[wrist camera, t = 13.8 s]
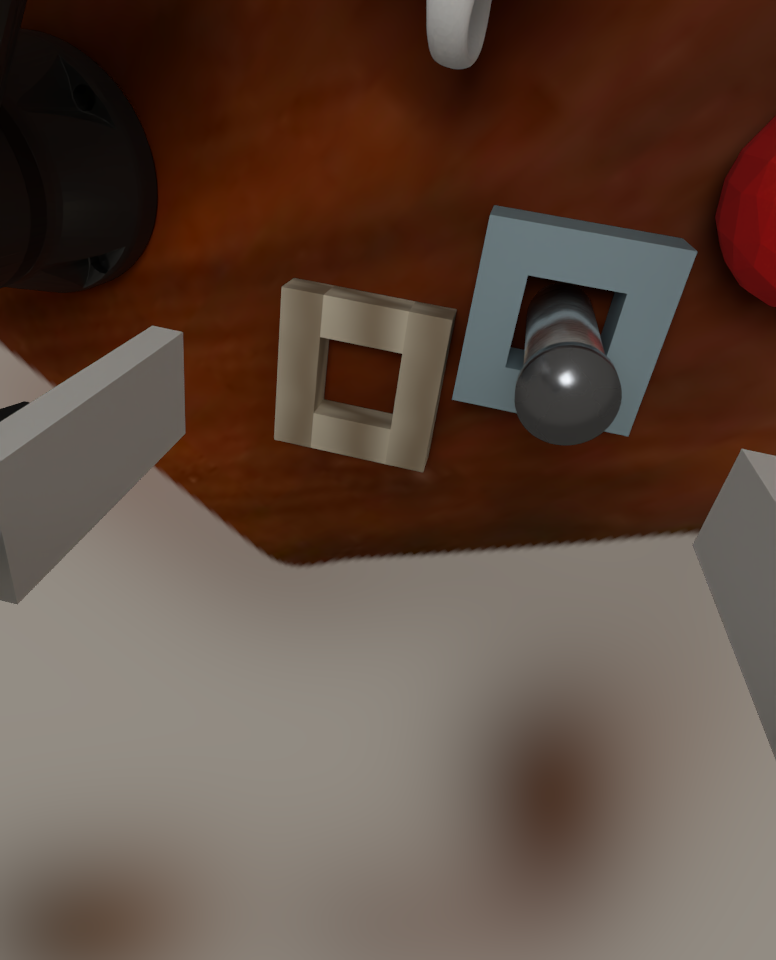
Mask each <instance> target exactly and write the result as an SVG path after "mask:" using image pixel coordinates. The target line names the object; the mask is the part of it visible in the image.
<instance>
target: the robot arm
mask: <svg viewBox="0 0 776 960" xmlns="http://www.w3.org/2000/svg"><path fill="white" fill-rule="evenodd" d="M26 2H27V0H0V288H2V287H11V288H20V289H29V290H38V291H48V292H58V293H66V292H76V291H82V290H86V289H89V288H92V287H95V286H97V285H100V284H102V283H105V282H107V281H110V280H112V279H114V278H116V277H118V276H120V275H121V274H123V273H124V272H125V271H127V270H128V269H129V268H130V267H131V266H132V265H133V264H134V263H135V262H136V261H137V259H138V258H139V257H140V255H141V254H142V252H143V250H144V249H145V247H146V245H147V243H148V241H149V238H150V235H151V233H152V229H153V226H154V221H155V216H156V208H157V183H156V174H155V168H154V163H153V158H152V155H151V151H150V148H149V145H148V141H147V139H146V136H145V134H144V131H143V129H142V126H141V124H140V122H139V120H138V118H137V116H136V114H135V112H134V110H133V109H132V107H131V105H130V104H129V102H128V100H127V99H126V97H125V96H124V94H123V93H122V92H121V90H120V89H119V88H118V86H117V85H116V84H115V82H114V81H113V80H112V79H111V78H110V77H109V76H108V74H107V73H106V72H105V71H104V70H103V69H102V68H101V67H100V66H99V65H97V64H96V63H95V62H94V61H93V60H92V59H91V58H89V57H88V56H87V55H86V54H84V53H83V52H81V51H80V50H79V49H77V48H76V47H74V46H72V45H71V44H69V43H67V42H65V41H63V40H61V39H59V38H57V37H54V36H52V35H49V34H46V33H43V32H39V31H34V30H28V29H21V28H20V26H21V22H22V18H23V14H24V10H25V6H26ZM184 434H185V399H184V358H183V332H180V331H175V330H170V329H165V328H161V327H156V326H151V327H150V328H148V329H146V330H145V331H143V332H142V333H140V334H138V335H137V336H135V337H134V338H132V339H131V340H129V341H127V342H126V343H124V344H123V345H121V346H120V347H118V348H116V349H115V350H113V351H112V352H110V353H108V354H107V355H105V356H104V357H102V358H101V359H99V360H97V361H96V362H94V363H93V364H91V365H89V366H88V367H86V368H85V369H83V370H82V371H80V372H78V373H77V374H75V375H74V376H72V377H70V378H69V379H67V380H66V381H64V382H63V383H61V384H59V385H58V386H56V387H55V388H53V389H51V390H50V391H48V392H47V393H45V394H44V395H42V396H40V397H39V398H37V399H36V400H34V401H33V402H31V403H29V402H21V403H18V404H15V405H12V406H9V407H6V408H2V409H0V600H2V601H6V602H10V603H14V604H18V603H19V602H20V601H21V600H22V599H23V598H24V597H25V596H26V595H27V594H28V593H29V592H30V591H31V590H32V589H33V588H34V587H35V586H36V585H37V584H38V583H39V582H40V581H41V580H42V579H43V578H44V577H45V576H46V575H47V574H48V573H49V572H50V571H51V570H52V569H53V568H54V566H55V565H57V564H58V563H59V561H61V559H62V558H63V557H64V556H65V555H66V554H67V553H68V552H69V551H70V550H71V549H72V548H73V547H74V546H75V545H76V544H77V543H78V542H79V541H80V540H81V539H82V538H83V537H84V536H85V535H86V534H87V533H88V532H89V531H90V530H91V529H92V528H93V527H94V526H95V525H96V524H97V523H98V522H99V521H100V520H101V519H102V518H103V517H104V516H105V515H106V514H107V512H108V511H110V510H111V508H113V507H114V505H116V504H117V502H118V501H119V500H120V499H121V498H122V497H123V496H124V495H125V494H126V493H127V492H128V491H129V490H130V489H131V488H132V487H133V486H134V485H135V484H136V483H137V482H138V481H139V480H140V479H141V478H142V477H143V476H144V475H145V474H146V473H147V472H148V471H149V470H150V469H151V468H152V467H153V466H154V465H155V464H156V463H157V462H158V461H159V460H160V459H161V458H162V457H163V456H164V455H165V454H166V453H167V452H168V451H169V450H170V449H171V448H172V447H173V445H174V444H175V443H176V442H177V441H178V440H179V439H180V438H181V437H182V436H183V435H184ZM693 547H694V550H695V553H696V555H697V558H698V560H699V563H700V565H701V568H702V570H703V573H704V576H705V578H706V581H707V584H708V586H709V589H710V591H711V594H712V596H713V599H714V602H715V604H716V607H717V609H718V612H719V614H720V617H721V619H722V622H723V624H724V627H725V630H726V632H727V635H728V638H729V640H730V643H731V645H732V648H733V650H734V653H735V656H736V658H737V661H738V663H739V666H740V669H741V671H742V673H743V676H744V679H745V681H746V684H747V687H748V689H749V692H750V694H751V697H752V700H753V702H754V705H755V707H756V710H757V713H758V715H759V718H760V720H761V723H762V725H763V728H764V731H765V733H766V736H767V738H768V741H769V744H770V746H771V749H772V751H773V754H774V756H775V759H776V456H773V455H769V454H764V453H759V452H754V451H749V450H745V449H741V451H740V453H739V455H738V457H737V459H736V461H735V463H734V465H733V467H732V469H731V471H730V473H729V475H728V477H727V479H726V481H725V483H724V485H723V487H722V489H721V491H720V493H719V495H718V496H717V498H716V500H715V502H714V504H713V506H712V508H711V510H710V512H709V514H708V516H707V518H706V520H705V522H704V524H703V526H702V528H701V530H700V532H699V534H698V536H697V538H696V540H695V542H694V544H693Z"/></svg>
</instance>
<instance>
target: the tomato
mask: <svg viewBox="0 0 776 960" xmlns="http://www.w3.org/2000/svg"><path fill="white" fill-rule="evenodd" d="M715 220H716V226H717V232H718V238H719V244H720V248H721V251H722V254H723V257H724V261H725V263H726V264H727V266H728V268H729V269H730V271H731V272H732V274H733V276H734V277H735V279H736V280H737V282H738V284H739V285H740V286H741V287H742V288H744V289H745V290H747V291H748V292H749V293H751V294H752V295H754V296H755V297H757V298H758V299H760V300H761V301H763V302H764V303H766V304H767V305H769V306H772V307H776V116H775V117H774V118H773V119H772V120H771V121H770V122H769V123H768V124H767V125H766V126H765V127H764V128H763V129H762V130H761V131H760V132H759V133H758V134H757V135H756V136H755V137H754V138H753V139H752V140H751V141H750V142H749V143H748V144H747V145H746V146H745V147H744V148H743V149H742V150H741V152H740V154H739V155H738V157H737V159H736V160H735V162H734V164H733V166H732V167H731V169H730V171H729V173H728V174H727V176H726V178H725V180H724V184H723V188H722V192H721V196H720V200H719V203H718V207H717V211H716V215H715Z"/></svg>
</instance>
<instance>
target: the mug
mask: <svg viewBox="0 0 776 960" xmlns="http://www.w3.org/2000/svg"><path fill="white" fill-rule="evenodd" d="M491 2H492V0H426V3H427V15H426V28H427V38H428V45H429V50H430V53H431V56H432V57H433V59H434V60H435V61H436V62H437V63H439V64H440V65H442V66H445V67H448V68H451V69H465V68H468V67H470V66H472V65H473V64H474V63H475V61H476V60H477V58H478V56H479V54H480V51H481V49H482V45H483V42H484V38H485V33H486V29H487V24H488V19H489V13H490V8H491Z"/></svg>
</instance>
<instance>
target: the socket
mask: <svg viewBox="0 0 776 960" xmlns="http://www.w3.org/2000/svg"><path fill="white" fill-rule="evenodd" d="M696 254H697V251H696V250H695V249H694V248H693V247H692V246H691V245H690V244H688V243H687V242H686V241H685V240H684V239H683V238H677V237H671V236H666V235H660V234H654V233H649V232H643V231H637V230H632V229H626V228H620V227H615V226H609V225H604V224H598V223H592V222H587V221H581V220H575V219H570V218H564V217H558V216H553V215H547V214H541V213H536V212H530V211H524V210H519V209H513V208H507V207H502V206H496V205H494V207H493V209H492V211H491V214H490V218H489V222H488V227H487V232H486V237H485V242H484V247H483V252H482V256H481V261H480V266H479V271H478V276H477V281H476V286H475V290H474V295H473V300H472V305H471V310H470V315H469V320H468V324H467V329H466V334H465V339H464V344H463V349H462V353H461V358H460V363H459V368H458V373H457V378H456V383H455V387H454V392H453V397H452V400H457V401H461V402H466V403H471V404H476V405H480V406H485V407H490V408H495V409H500V410H504V411H509V412H514V413H517V412H516V408H515V401H514V400H515V386H516V381H517V378H518V375H519V373H520V370H521V368H522V367H523V365H524V351H525V350H522V349H517V348H512V347H510V346H511V342H512V338H513V334H514V330H515V326H516V322H517V318H518V314H519V310H520V306H521V302H522V298H523V294H524V289H525V285H526V281H527V277H528V275H529V276H534V277H540V278H545V279H550V280H556V281H561V282H566V283H572V284H577V285H582V286H588V287H593V288H599V289H604V290H609V291H615V293H614V296H613V299H612V302H611V306H610V309H609V312H608V315H607V318H606V321H605V324H604V327H603V331H602V334H601V341H602V345H603V349H604V352H605V355H606V356H607V357H608V358H609V359H610V360H611V362H612V363H613V365H614V367H615V369H616V371H617V374H618V377H619V380H620V384H621V390H622V399H621V405H620V409H619V411H618V413H617V416H616V417H615V419H614V421H613V422H612V423H611V425H610V426H609V427H608V428H607V429H606V430H605V432H610V433H614V434H619V435H624V436H629V433H630V430H631V428H632V425H633V422H634V420H635V417H636V414H637V412H638V409H639V406H640V404H641V401H642V398H643V396H644V393H645V390H646V388H647V385H648V382H649V380H650V377H651V374H652V372H653V369H654V366H655V364H656V361H657V358H658V356H659V353H660V350H661V348H662V345H663V342H664V340H665V337H666V334H667V332H668V329H669V326H670V324H671V321H672V318H673V316H674V313H675V310H676V308H677V305H678V302H679V300H680V297H681V294H682V292H683V289H684V286H685V284H686V281H687V278H688V276H689V273H690V270H691V268H692V265H693V262H694V260H695V257H696Z"/></svg>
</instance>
